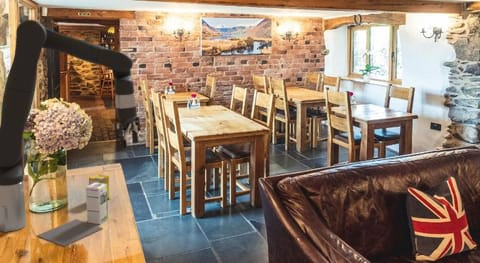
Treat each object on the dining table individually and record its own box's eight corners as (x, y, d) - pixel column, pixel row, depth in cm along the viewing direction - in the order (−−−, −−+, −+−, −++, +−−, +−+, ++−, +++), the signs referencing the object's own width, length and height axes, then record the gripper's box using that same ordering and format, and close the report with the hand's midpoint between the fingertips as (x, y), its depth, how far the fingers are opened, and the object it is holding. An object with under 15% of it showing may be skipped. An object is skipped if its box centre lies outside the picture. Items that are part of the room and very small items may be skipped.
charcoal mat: (64, 246, 142) (64, 246, 142) (37, 236, 149) (37, 235, 149) (102, 228, 157) (102, 228, 157) (76, 219, 163) (76, 219, 163)
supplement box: (109, 199, 185) (109, 175, 183) (100, 204, 180) (100, 179, 177) (98, 197, 187) (97, 173, 185) (89, 201, 182) (88, 177, 179)
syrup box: (100, 224, 160) (99, 188, 157) (86, 222, 161) (85, 186, 158) (108, 218, 166) (107, 183, 163) (94, 216, 167) (93, 181, 164)
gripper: (127, 102, 171) (131, 140, 175) (107, 108, 158) (111, 150, 162) (143, 102, 169) (147, 141, 173) (124, 109, 156) (128, 151, 159)
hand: (129, 145), depth 167 cm, fingers open, 8 cm apart
